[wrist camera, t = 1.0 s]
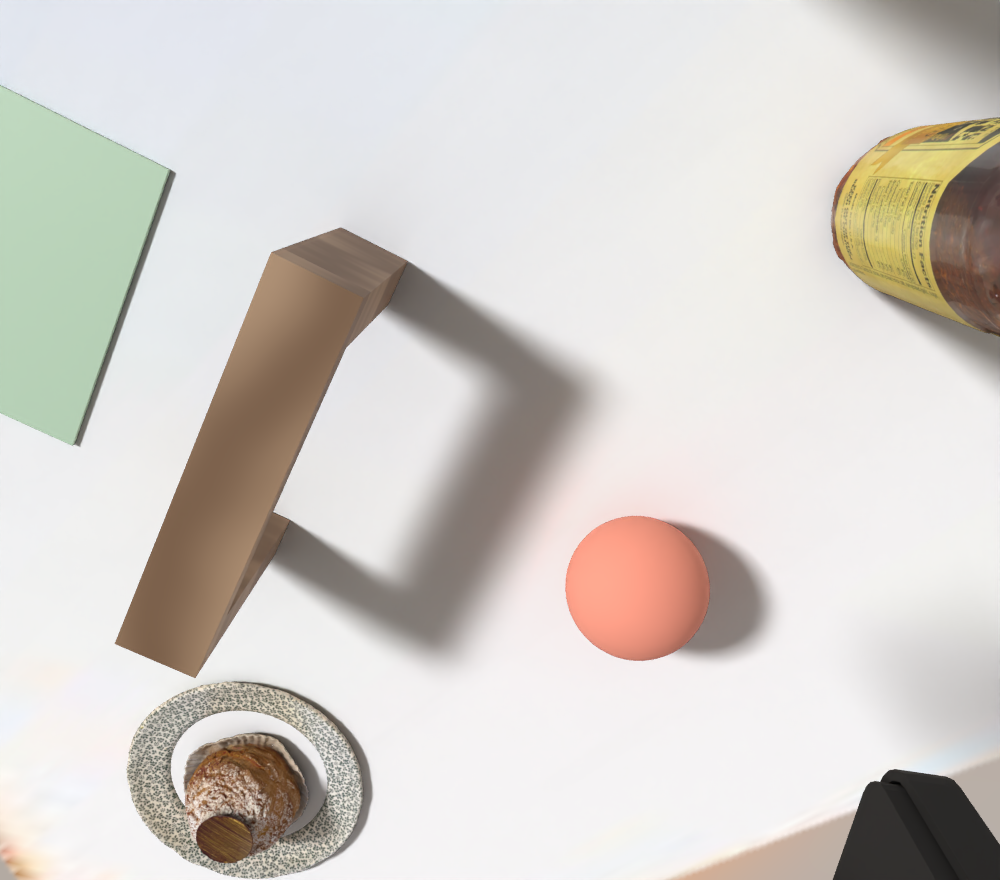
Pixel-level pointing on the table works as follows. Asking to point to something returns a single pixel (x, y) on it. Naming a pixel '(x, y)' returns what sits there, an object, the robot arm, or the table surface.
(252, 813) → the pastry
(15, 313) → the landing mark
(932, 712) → the table surface
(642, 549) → the ball
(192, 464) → the bridge
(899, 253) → the sauce bottle
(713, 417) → the table surface
